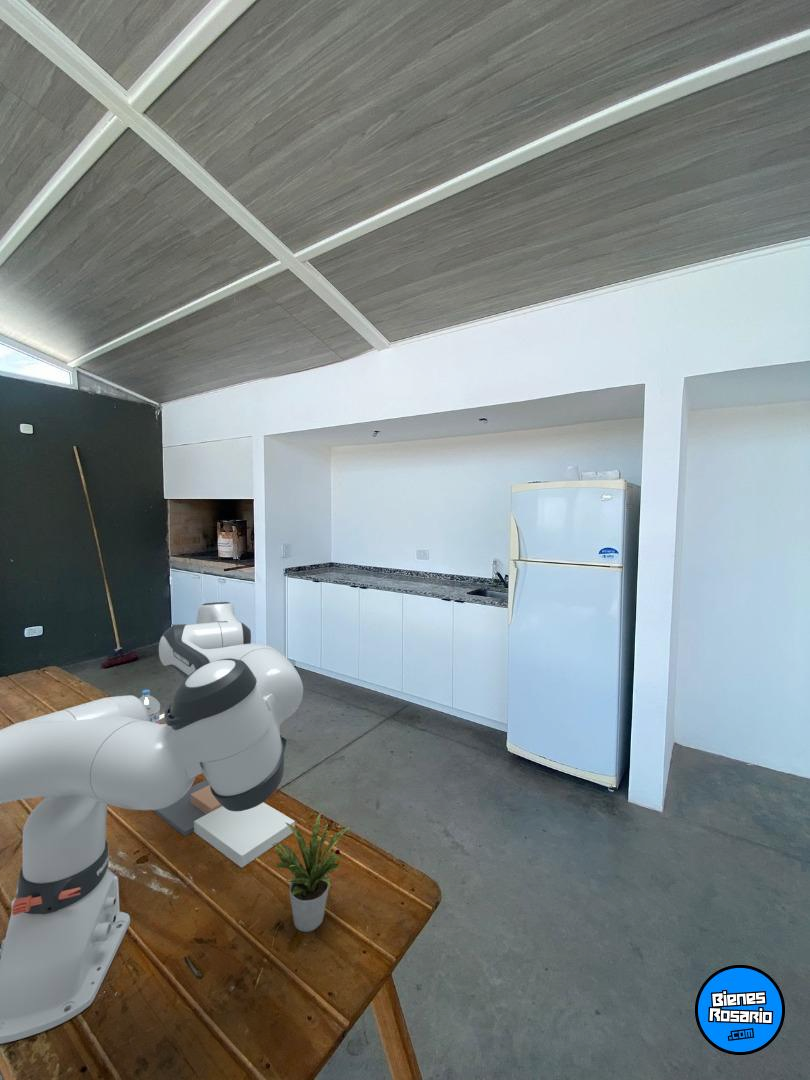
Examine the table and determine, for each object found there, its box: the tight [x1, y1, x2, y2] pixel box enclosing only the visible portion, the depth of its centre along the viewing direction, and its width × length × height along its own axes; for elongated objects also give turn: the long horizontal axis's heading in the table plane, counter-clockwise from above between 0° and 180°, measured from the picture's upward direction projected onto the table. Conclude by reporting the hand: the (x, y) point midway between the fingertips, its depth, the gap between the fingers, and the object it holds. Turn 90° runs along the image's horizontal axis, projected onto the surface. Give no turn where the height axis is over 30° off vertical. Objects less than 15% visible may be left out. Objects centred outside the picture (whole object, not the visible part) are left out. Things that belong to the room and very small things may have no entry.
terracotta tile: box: [190, 785, 222, 814], centre depth 112 cm, size 9×6×2 cm, turn 54°
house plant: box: [272, 811, 354, 933], centre depth 82 cm, size 14×14×16 cm
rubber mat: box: [151, 778, 210, 837], centre depth 113 cm, size 16×18×1 cm
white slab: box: [193, 801, 296, 868], centre depth 103 cm, size 18×14×2 cm
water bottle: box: [138, 689, 161, 724], centre depth 121 cm, size 7×7×25 cm
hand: (213, 724), depth 109 cm, fingers closed
